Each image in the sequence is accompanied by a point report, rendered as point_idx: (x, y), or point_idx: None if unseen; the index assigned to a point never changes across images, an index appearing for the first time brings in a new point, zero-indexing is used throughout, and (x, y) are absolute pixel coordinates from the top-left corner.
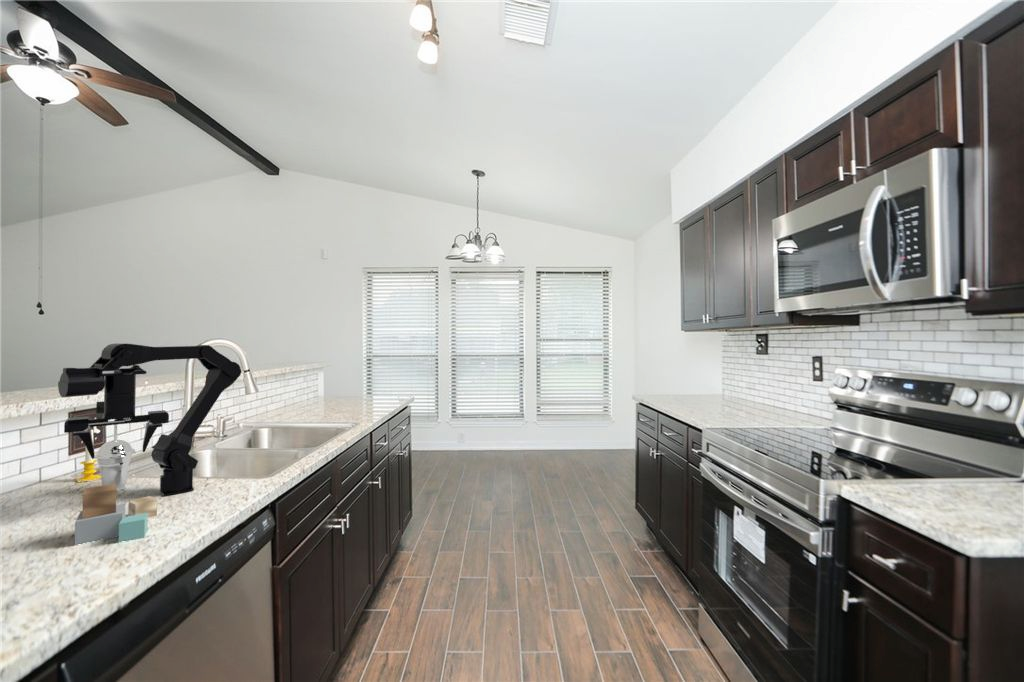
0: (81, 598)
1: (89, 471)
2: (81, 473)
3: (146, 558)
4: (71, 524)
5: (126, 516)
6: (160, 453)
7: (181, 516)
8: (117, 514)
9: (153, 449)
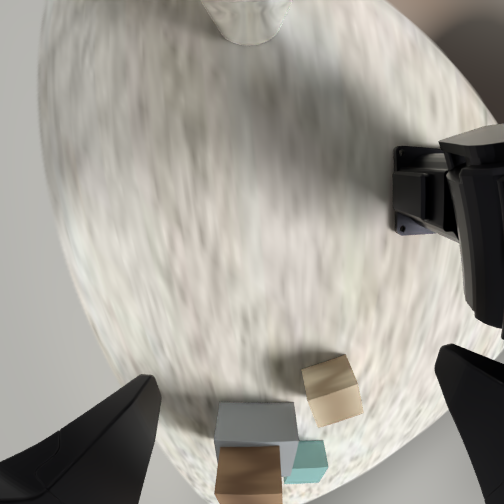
0: None
1: None
2: None
3: (307, 491)
4: (185, 337)
5: (296, 468)
6: (493, 286)
7: (382, 407)
8: (282, 475)
9: (494, 176)
